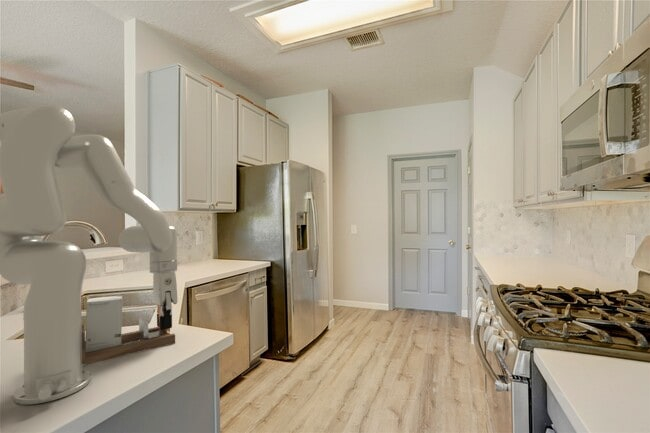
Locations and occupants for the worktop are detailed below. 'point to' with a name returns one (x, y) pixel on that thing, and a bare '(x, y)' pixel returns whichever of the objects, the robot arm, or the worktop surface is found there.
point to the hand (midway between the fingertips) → (164, 326)
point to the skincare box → (103, 323)
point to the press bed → (125, 346)
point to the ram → (144, 328)
